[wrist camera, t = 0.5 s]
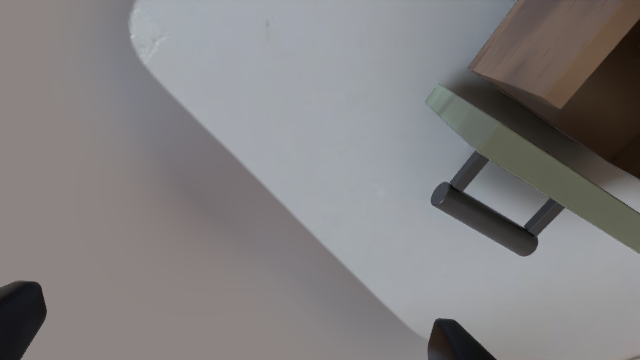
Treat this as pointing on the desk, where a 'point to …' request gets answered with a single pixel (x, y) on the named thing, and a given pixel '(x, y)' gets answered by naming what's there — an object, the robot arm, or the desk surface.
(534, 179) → the drawer
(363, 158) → the desk surface
